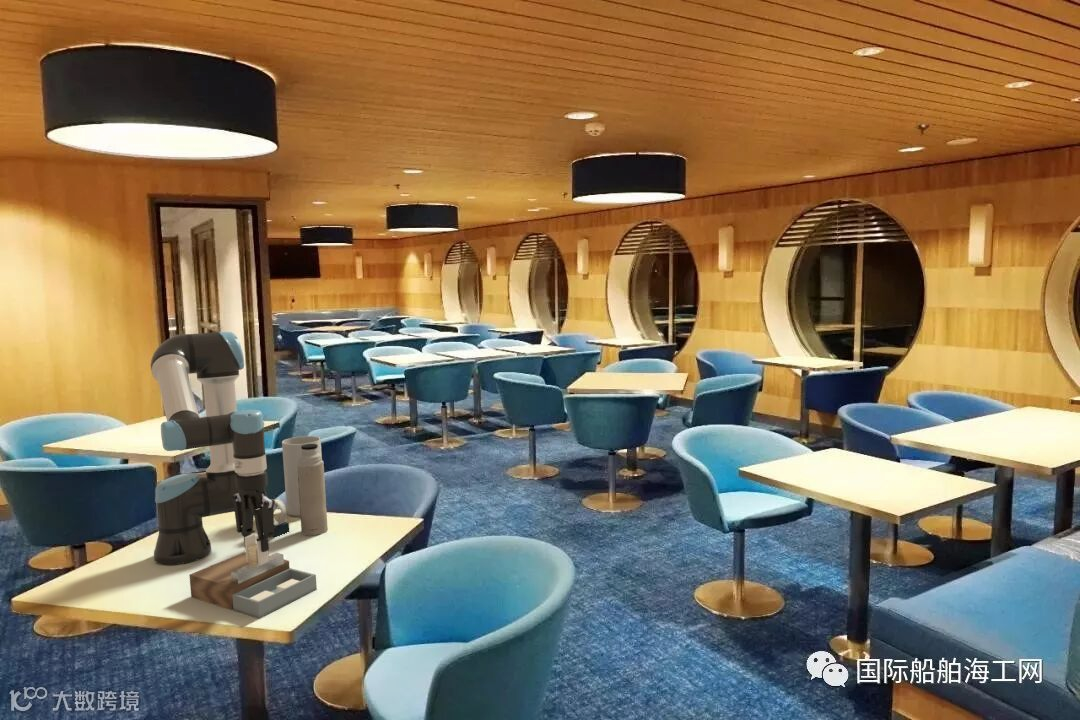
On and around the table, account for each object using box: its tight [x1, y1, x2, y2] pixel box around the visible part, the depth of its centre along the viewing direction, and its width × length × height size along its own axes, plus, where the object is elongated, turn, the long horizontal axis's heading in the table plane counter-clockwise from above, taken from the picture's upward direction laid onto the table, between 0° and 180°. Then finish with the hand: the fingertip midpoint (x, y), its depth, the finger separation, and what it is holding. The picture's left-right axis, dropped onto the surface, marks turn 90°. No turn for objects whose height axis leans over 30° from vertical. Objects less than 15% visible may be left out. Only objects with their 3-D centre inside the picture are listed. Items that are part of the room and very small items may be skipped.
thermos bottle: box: [297, 444, 329, 536], centre depth 234 cm, size 8×8×28 cm
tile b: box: [276, 579, 299, 592], centre depth 189 cm, size 5×5×2 cm
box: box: [232, 567, 318, 620], centre depth 186 cm, size 9×18×4 cm, turn 150°
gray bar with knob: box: [231, 544, 285, 584], centre depth 188 cm, size 3×14×7 cm, turn 150°
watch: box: [271, 498, 290, 538], centre depth 233 cm, size 6×8×11 cm
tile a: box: [250, 590, 274, 601], centre depth 183 cm, size 5×5×2 cm
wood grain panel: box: [189, 551, 291, 611], centre depth 193 cm, size 16×18×6 cm
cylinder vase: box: [281, 435, 323, 517], centre depth 254 cm, size 12×12×25 cm
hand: (257, 561), depth 189 cm, fingers open, 4 cm apart
